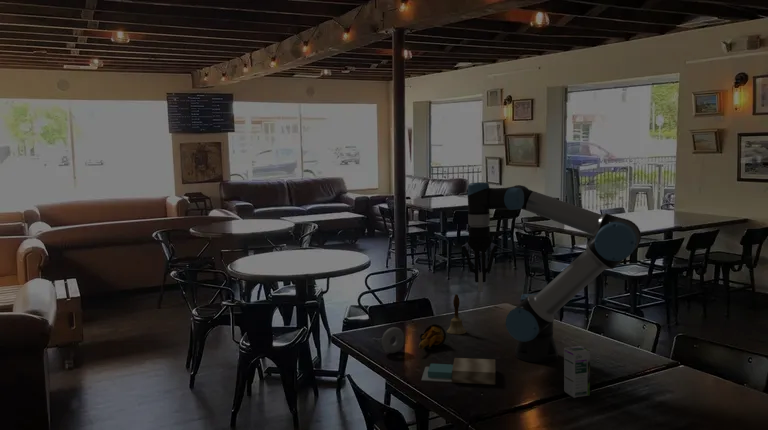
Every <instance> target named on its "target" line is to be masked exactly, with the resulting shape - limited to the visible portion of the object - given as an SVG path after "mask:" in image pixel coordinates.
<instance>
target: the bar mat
mask: <svg viewBox="0 0 768 430" xmlns="http://www.w3.org/2000/svg"><path fill="white" fill-rule="evenodd" d="M429 367H430V366H425V367H424V371H423V373H422V377H421V382H435V383H436V382H437V383H453V382H452V378H434V377H428V369H429Z"/></svg>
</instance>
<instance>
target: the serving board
mask: <svg viewBox="0 0 768 430" xmlns="http://www.w3.org/2000/svg"><path fill="white" fill-rule="evenodd" d="M452 365H453V368H452V382H451V383H455V384H457V383H459V384H460V383H461V384H476V385H477V384H479V385H496V359H492V358H489V359H488V358H467V357H465V358H464V357H454V359H453V364H452Z"/></svg>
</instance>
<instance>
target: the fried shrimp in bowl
mask: <svg viewBox="0 0 768 430" xmlns="http://www.w3.org/2000/svg"><path fill="white" fill-rule="evenodd" d="M446 338H447V332H446V330H445V329H444V327H443V326H442V325H440V324H437V323H434V324H433V323H432V324H430V325H428V326H427V327H426V328H425V329H424V331H423V333H420V334H419V341H420V343H419V344H418V346H417V349H418V350H423V349H427V350H431V351H432V350H436V348H439V347H441V346H443V344H444V343H446Z"/></svg>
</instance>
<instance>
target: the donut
mask: <svg viewBox="0 0 768 430" xmlns="http://www.w3.org/2000/svg"><path fill="white" fill-rule="evenodd" d="M393 337H395V341H394V343H391V340H392V338H393ZM404 344H405V334H404V332H403V330H402V329H401V328H399V327H397V326H396V327H394V326H392V327H390V328H387V330H385V331H384V333H383V334H382V338H381V346H382V349H383V351H385V352H386V353H388V354H396V353H398V352H399V351H401V349H402V348H403V346H404Z"/></svg>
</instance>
